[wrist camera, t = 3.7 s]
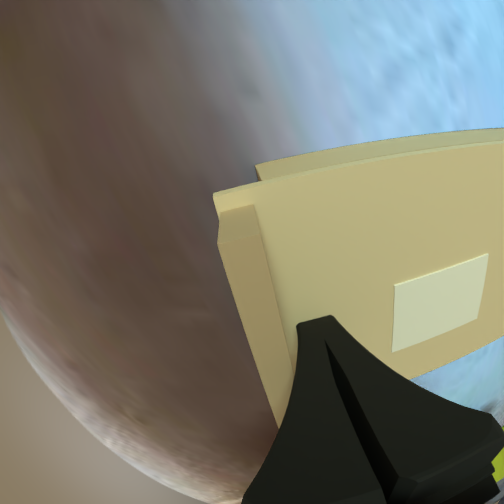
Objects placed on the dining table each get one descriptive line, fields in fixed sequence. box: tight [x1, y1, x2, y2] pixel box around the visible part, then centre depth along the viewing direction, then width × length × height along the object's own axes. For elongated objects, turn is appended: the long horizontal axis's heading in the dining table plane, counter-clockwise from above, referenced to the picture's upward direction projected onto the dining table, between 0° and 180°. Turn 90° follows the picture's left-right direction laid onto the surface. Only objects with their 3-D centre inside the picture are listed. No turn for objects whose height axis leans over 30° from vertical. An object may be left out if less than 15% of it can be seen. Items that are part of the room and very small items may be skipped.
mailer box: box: [255, 128, 504, 182], centre depth 13 cm, size 14×11×3 cm
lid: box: [213, 140, 504, 428], centre depth 10 cm, size 14×11×3 cm
